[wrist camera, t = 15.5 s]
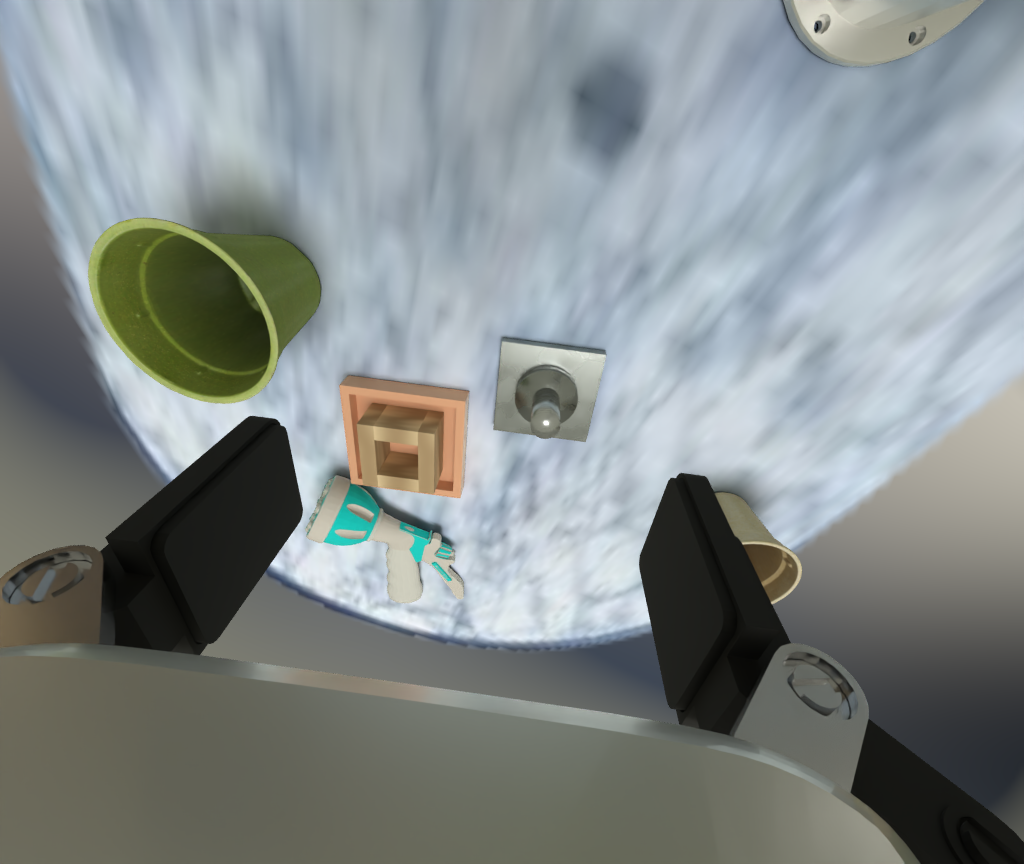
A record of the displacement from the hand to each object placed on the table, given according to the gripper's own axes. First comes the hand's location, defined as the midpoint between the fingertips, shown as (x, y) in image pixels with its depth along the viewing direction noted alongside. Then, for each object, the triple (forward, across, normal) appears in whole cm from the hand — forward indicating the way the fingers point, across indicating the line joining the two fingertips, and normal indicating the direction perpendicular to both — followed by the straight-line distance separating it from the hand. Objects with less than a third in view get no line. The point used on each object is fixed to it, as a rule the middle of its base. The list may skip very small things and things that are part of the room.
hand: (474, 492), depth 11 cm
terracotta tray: (+28, +10, +18) cm, 35 cm away
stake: (+28, -3, +11) cm, 31 cm away
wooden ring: (+28, +10, +18) cm, 34 cm away
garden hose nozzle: (+29, +12, +33) cm, 46 cm away
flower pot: (+28, -23, +23) cm, 43 cm away
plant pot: (+28, +21, +4) cm, 36 cm away
